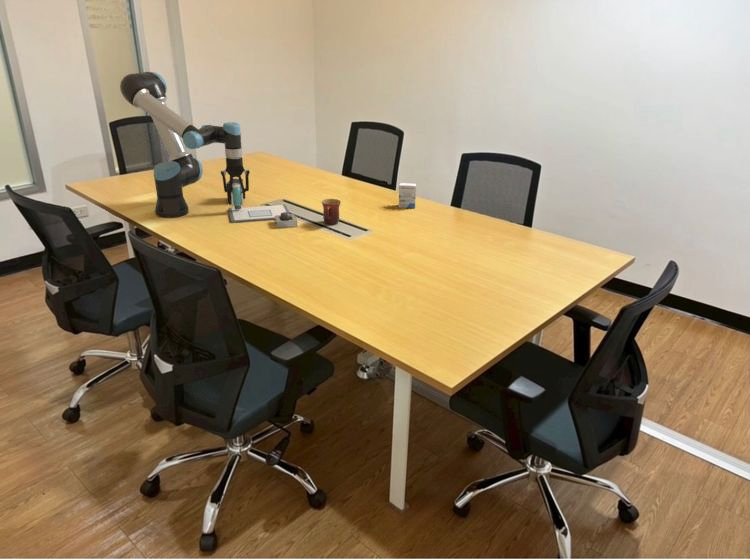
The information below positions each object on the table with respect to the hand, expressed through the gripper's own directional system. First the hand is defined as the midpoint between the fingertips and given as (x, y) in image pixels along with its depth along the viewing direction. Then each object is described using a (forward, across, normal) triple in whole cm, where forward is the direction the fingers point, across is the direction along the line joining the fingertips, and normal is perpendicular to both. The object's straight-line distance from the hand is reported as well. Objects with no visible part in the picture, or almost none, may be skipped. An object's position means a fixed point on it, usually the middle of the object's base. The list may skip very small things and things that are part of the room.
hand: (237, 205), depth 273 cm
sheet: (+3, +10, -5) cm, 11 cm away
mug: (+4, +40, -26) cm, 48 cm away
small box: (+4, +1, +19) cm, 19 cm away
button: (+2, +20, -22) cm, 29 cm away
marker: (+2, 0, 0) cm, 2 cm away
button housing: (+3, +20, -22) cm, 30 cm away
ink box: (+4, +84, -9) cm, 84 cm away
